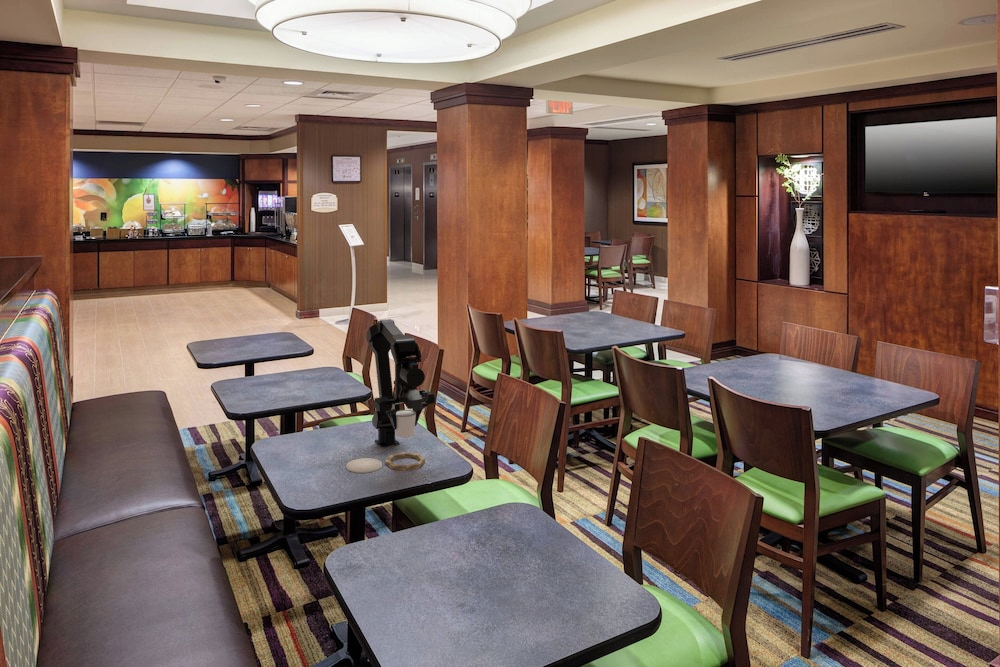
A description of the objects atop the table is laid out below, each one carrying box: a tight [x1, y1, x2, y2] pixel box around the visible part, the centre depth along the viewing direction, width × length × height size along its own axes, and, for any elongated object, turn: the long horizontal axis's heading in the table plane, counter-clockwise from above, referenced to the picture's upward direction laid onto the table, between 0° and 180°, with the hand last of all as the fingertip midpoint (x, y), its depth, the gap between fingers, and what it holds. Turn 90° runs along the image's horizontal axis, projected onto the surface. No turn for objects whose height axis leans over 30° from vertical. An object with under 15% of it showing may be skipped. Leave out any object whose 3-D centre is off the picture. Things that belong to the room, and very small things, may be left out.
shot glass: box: [395, 409, 416, 439], centre depth 222 cm, size 7×7×7 cm
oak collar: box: [385, 451, 426, 472], centre depth 225 cm, size 11×11×1 cm
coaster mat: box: [345, 457, 383, 474], centre depth 222 cm, size 11×11×1 cm
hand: (405, 427), depth 223 cm, fingers closed on shot glass, 6 cm apart
